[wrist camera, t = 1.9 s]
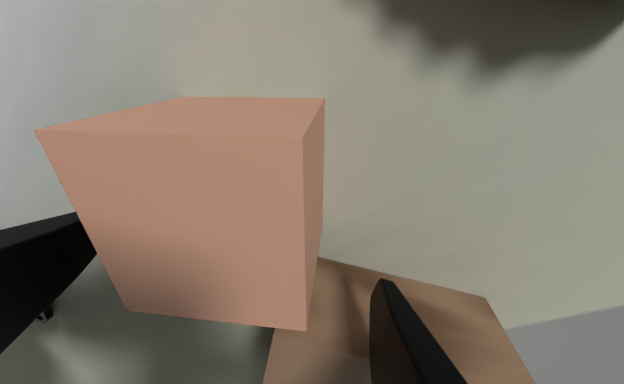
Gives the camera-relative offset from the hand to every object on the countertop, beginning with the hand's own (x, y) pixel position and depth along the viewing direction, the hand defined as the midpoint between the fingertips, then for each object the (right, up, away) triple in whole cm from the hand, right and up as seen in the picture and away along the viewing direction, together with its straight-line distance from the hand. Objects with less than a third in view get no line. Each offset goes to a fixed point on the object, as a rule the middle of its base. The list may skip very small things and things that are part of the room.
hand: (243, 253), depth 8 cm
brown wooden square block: (+5, -6, +6) cm, 9 cm away
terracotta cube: (0, +3, +2) cm, 4 cm away
